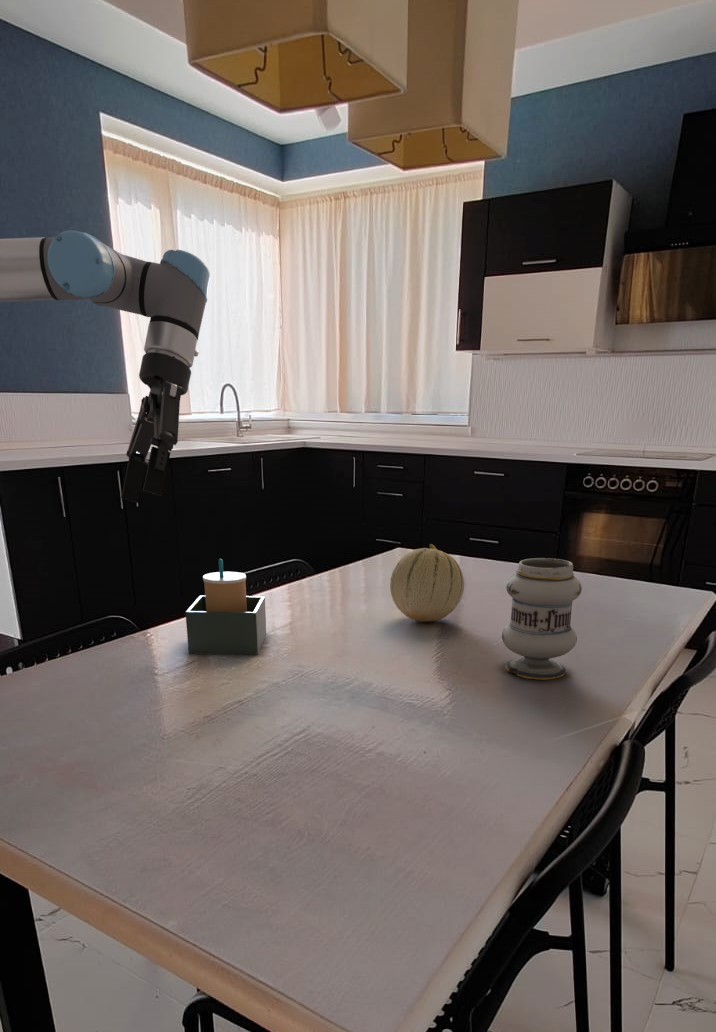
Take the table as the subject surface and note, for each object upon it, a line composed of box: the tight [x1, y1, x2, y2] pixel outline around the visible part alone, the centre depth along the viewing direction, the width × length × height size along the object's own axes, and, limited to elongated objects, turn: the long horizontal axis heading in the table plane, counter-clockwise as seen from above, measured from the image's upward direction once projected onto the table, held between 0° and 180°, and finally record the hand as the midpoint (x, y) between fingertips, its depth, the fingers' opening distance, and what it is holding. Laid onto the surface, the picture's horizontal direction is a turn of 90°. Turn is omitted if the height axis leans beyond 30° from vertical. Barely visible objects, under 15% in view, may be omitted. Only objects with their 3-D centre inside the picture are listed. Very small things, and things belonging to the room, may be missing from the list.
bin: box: [185, 595, 267, 656], centre depth 139 cm, size 12×12×8 cm
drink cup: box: [202, 558, 247, 612], centre depth 138 cm, size 8×8×15 cm
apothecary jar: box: [501, 557, 583, 681], centre depth 125 cm, size 12×12×18 cm
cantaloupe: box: [389, 543, 465, 623], centre depth 155 cm, size 15×15×15 cm
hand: (140, 497), depth 121 cm, fingers open, 13 cm apart
